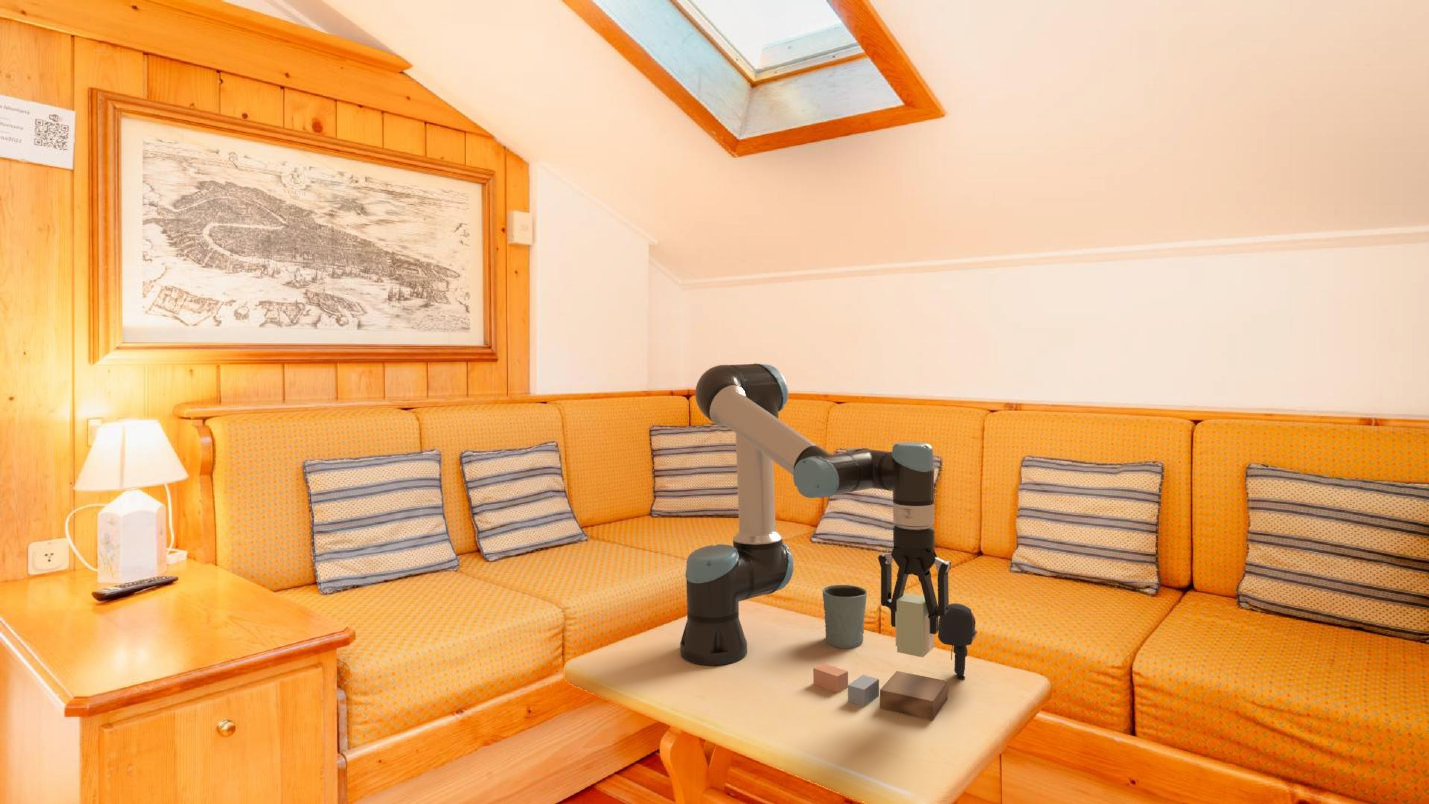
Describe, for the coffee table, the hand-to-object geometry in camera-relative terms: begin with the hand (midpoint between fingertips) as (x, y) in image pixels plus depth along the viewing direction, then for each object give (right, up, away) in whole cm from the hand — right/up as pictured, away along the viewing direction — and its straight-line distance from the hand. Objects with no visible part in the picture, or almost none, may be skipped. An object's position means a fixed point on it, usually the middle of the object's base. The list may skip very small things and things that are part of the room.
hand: (914, 646), depth 148 cm
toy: (+12, -10, +13) cm, 21 cm away
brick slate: (-9, -11, +3) cm, 15 cm away
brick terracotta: (-15, -11, +10) cm, 21 cm away
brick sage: (0, -1, 0) cm, 1 cm away
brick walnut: (0, -12, +1) cm, 12 cm away
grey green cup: (-8, -10, +34) cm, 36 cm away
